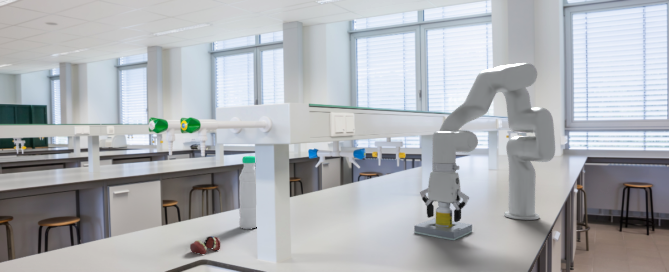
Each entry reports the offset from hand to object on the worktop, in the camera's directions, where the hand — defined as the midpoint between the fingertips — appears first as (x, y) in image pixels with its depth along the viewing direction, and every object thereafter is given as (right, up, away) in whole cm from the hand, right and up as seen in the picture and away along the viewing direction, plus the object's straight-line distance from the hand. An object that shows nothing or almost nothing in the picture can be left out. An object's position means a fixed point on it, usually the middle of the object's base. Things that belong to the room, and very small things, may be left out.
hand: (443, 219), depth 144 cm
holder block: (0, -5, 0) cm, 4 cm away
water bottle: (-66, -5, +7) cm, 67 cm away
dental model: (-74, -6, -21) cm, 77 cm away
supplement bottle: (0, -4, 0) cm, 4 cm away
